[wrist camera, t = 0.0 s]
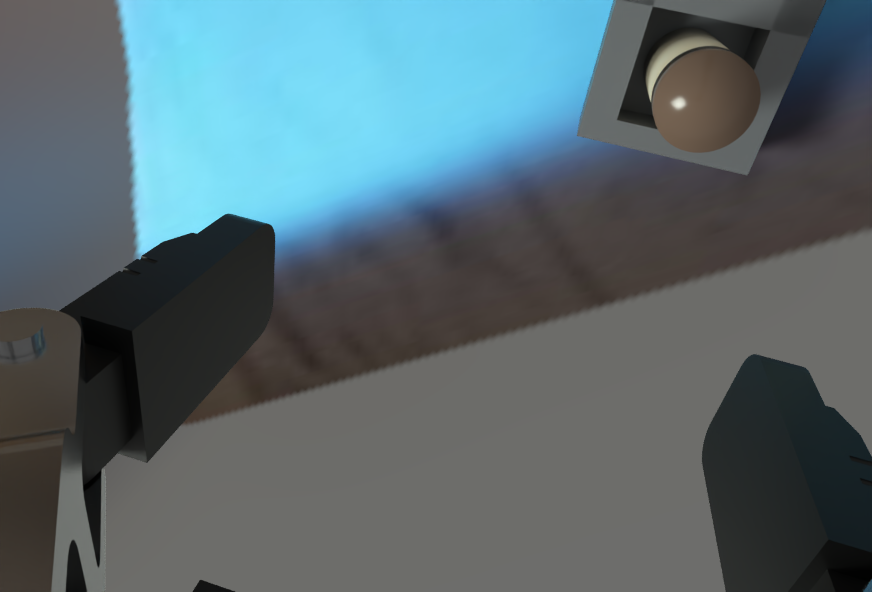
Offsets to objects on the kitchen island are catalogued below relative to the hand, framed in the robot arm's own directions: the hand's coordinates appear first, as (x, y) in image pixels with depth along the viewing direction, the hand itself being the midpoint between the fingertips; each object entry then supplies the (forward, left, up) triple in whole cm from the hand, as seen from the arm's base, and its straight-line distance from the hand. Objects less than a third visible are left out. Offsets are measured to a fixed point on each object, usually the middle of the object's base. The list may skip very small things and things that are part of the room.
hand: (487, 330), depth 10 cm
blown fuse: (-1, +6, -28) cm, 29 cm away
